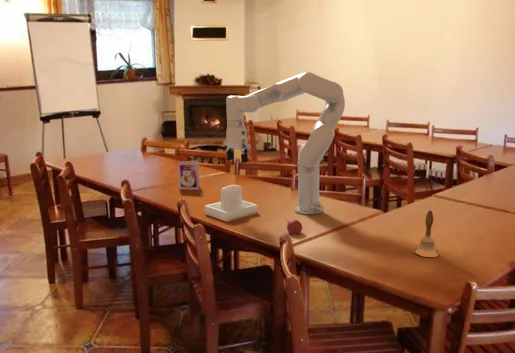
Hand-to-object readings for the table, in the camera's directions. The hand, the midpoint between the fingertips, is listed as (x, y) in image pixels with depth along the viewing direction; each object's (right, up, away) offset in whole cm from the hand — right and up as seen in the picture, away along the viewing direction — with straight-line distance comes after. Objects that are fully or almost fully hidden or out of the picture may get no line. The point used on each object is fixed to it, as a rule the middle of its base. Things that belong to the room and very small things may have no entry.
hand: (237, 161), depth 231 cm
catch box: (-3, -24, +2) cm, 24 cm away
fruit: (+23, -30, -24) cm, 45 cm away
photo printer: (-3, -23, +1) cm, 23 cm away
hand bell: (+70, -35, -49) cm, 92 cm away
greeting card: (-27, -14, +48) cm, 57 cm away
